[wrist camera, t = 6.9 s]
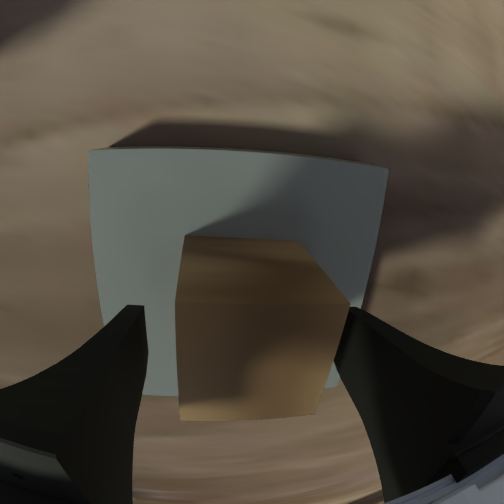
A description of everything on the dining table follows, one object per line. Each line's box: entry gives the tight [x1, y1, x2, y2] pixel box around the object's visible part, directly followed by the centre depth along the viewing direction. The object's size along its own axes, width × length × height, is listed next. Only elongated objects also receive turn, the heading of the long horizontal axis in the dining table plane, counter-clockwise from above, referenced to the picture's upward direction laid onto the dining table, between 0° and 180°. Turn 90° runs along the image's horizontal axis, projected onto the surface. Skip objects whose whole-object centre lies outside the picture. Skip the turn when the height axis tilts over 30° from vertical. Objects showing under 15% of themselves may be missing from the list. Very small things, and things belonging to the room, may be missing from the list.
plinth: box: [89, 146, 389, 396], centre depth 14 cm, size 12×12×2 cm
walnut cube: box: [175, 235, 351, 421], centre depth 11 cm, size 4×4×5 cm
